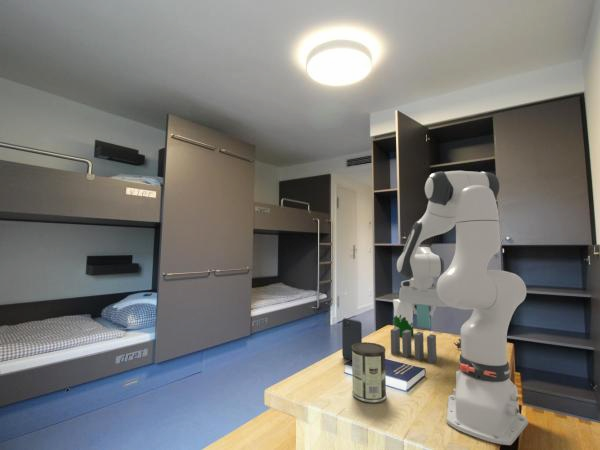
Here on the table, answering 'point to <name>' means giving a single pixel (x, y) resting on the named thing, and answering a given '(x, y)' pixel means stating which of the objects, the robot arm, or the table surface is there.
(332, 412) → the table surface
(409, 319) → the milk carton
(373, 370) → the coffee can
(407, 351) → the domino
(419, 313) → the domino
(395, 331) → the domino
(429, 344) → the domino
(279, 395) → the table surface
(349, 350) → the phone case
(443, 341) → the table surface
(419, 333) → the domino
